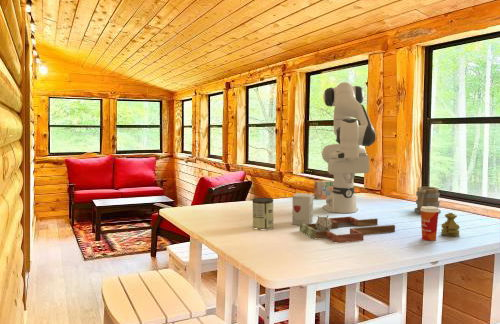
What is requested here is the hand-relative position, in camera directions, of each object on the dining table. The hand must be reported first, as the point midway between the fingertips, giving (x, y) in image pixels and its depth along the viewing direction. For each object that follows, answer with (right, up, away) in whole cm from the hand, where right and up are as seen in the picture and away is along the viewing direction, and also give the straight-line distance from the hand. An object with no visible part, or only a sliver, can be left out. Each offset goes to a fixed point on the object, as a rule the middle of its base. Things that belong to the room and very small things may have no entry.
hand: (348, 183), depth 198 cm
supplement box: (-19, -22, +19) cm, 34 cm away
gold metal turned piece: (+44, -23, -6) cm, 51 cm away
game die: (-12, -23, -1) cm, 26 cm away
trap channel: (0, -23, +2) cm, 23 cm away
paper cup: (+32, -24, -13) cm, 42 cm away
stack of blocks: (+9, -15, +91) cm, 93 cm away
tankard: (+52, -19, +41) cm, 69 cm away
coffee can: (-40, -23, +10) cm, 47 cm away
